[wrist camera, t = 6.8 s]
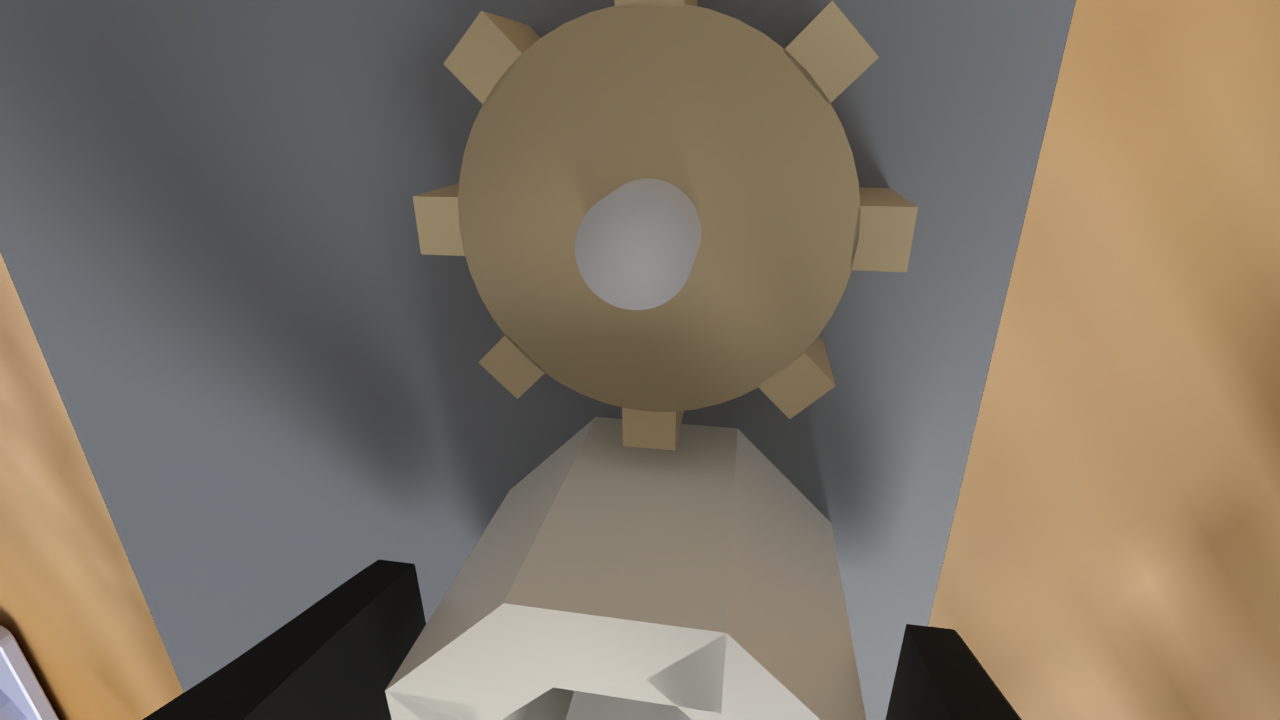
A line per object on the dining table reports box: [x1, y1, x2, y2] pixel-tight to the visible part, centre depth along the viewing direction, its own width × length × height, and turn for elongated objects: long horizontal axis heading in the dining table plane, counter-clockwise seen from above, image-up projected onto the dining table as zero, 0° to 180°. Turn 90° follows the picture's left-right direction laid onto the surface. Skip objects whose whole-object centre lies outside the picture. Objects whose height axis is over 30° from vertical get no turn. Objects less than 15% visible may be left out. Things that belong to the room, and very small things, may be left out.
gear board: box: [0, 0, 1076, 720], centre depth 10 cm, size 16×18×6 cm
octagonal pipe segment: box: [385, 417, 866, 720], centre depth 9 cm, size 5×5×4 cm
